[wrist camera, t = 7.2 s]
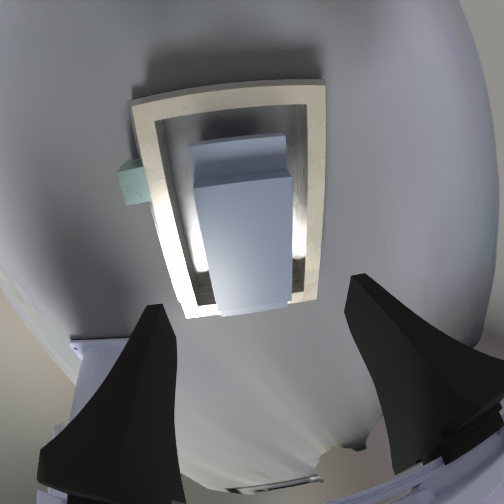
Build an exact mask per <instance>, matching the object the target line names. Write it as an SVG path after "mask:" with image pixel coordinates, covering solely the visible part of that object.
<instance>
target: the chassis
mask: <svg viewBox="0 0 504 504" xmlns="http://www.w3.org/2000/svg"><path fill="white" fill-rule="evenodd" d="M128 106H129V112H130V118H131V123H132V128H133V134H134V139H135V143H136V148H137V153H138V159H133V160H128V161H126V162H125V163H124V164H123V165H122V166H121V168H120V169H119V170H118V171H117V176H118V180H119V184H120V188H121V191H122V195H123V198H124V202H125V205H126V206H128V205H133V204H138V203H144V202H149V204H150V208H151V211H152V215H153V219H154V223H155V226H156V230H157V233H158V237H159V240H160V244H161V247H162V251H163V254H164V257H165V261H166V264H167V267H168V270H169V273H170V277H171V280H172V283H173V286H174V289H175V292H176V295H177V298H178V301H179V302H181V303H182V306H183V309H184V312H185V314H186V317H187V318H190V317H199V316H207V315H215V314H220V311H218V310H217V306H216V301H215V297H214V293H213V288H212V284H211V279H210V274H209V270H208V265H207V260H206V255H205V251H204V246H203V241H202V236H201V231H200V226H199V220H198V215H197V210H196V204H195V199H194V194H193V183H194V178H193V172H192V166H191V160H190V154H189V148H188V147H189V143H193V142H199V141H206V140H213V139H221V138H229V137H237V136H246V135H257V134H268V133H283V134H284V135H285V136H286V161H287V170H288V171H289V173H290V174H291V176H292V192H293V258H292V301H288V304H290V303H296V302H302V301H308V300H314V299H316V297H317V287H318V277H319V266H320V254H321V241H322V226H323V209H324V187H325V152H326V98H325V80H324V79H273V80H255V81H242V82H231V83H222V84H213V85H206V86H199V87H192V88H186V89H180V90H175V91H169V92H164V93H159V94H155V95H150V96H146V97H141V98H137V99H133V100H130V101H128Z"/></svg>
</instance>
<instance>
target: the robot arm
mask: <svg viewBox="0 0 504 504" xmlns="http://www.w3.org/2000/svg"><path fill="white" fill-rule="evenodd" d="M344 313H345V316H346V320H347V323H348V326H349V329H350V332H351V334H352V336H353V339H354V341H355V343H356V345H357V347H358V349H359V351H360V354H361V356H362V358H363V360H364V362H365V364H366V366H367V369H368V371H369V373H370V375H371V377H372V380H373V382H374V385H375V388H376V391H377V394H378V398H379V401H380V404H381V408H382V412H383V416H384V419H385V424H386V429H387V433H388V438H389V444H390V450H391V458H392V467H393V470H394V473H395V475H397V474H399V473H402V472H404V471H406V470H408V469H411V468H413V467H415V466H417V465H419V464H421V463H423V466H422V467H420V468H418V469H416V470H414V471H411V472H409V473H407V474H405V475H403V476H401V477H398V478H396V479H394V480H391V481H389V482H386V483H384V484H381V485H379V486H376V487H373V488H371V489H368V490H365V491H362V492H360V493H357V494H353V495H350V496H347V497H344V498H341V499H337V500H333V501H330V502H326V503H322V504H374V503H377V502H380V501H382V500H385V499H387V498H390V497H392V496H394V495H396V494H399V493H401V492H403V491H405V490H408V489H410V488H412V487H413V488H412V489H411V492H410V494H408V495H404V496H402V497H399V498H397V499H394V500H392V501H389V502H387V503H385V504H482V503H483V502H484V501H485V500H486V499H487V498H488V497H489V496H490V495H491V494H492V493H493V492H494V491H495V490H496V489H497V488H498V487H499V486H500V485H501V484H502V483H503V482H504V414H503V415H500V413H499V411H500V410H501V409H502V406H501V404H500V401H501V400H502V399H503V398H504V360H501V359H497V358H495V357H491V356H489V355H487V354H484V353H482V352H479V351H477V350H475V349H473V348H471V347H468V346H466V345H465V344H463V343H461V342H459V341H457V340H455V339H453V338H451V337H450V336H448V335H446V334H445V333H443V332H442V331H440V330H438V329H437V328H435V327H434V326H432V325H431V324H429V323H428V322H426V321H425V320H423V319H422V318H421V317H419V316H418V315H417V314H415V313H414V312H413V311H411V310H410V309H409V308H407V307H406V306H405V305H404V304H402V303H401V302H400V301H399V300H397V299H396V298H395V297H394V296H392V295H391V294H390V293H389V292H388V291H386V290H385V289H384V288H383V287H381V286H380V285H379V284H378V283H377V282H375V281H374V280H373V279H372V278H370V277H369V276H368V275H367V274H365V273H364V274H358V275H353V276H351V279H350V285H349V290H348V295H347V300H346V305H345V310H344ZM69 345H70V346H71V348H72V349H73V350H74V352H75V353H76V354H77V355H78V357H79V358H80V359H81V360H82V364H81V368H80V372H79V376H78V380H77V384H76V389H75V394H74V398H73V404H72V409H71V414H70V420H69V423H68V424H67V425H66V424H63V423H61V424H60V425H57V426H55V428H54V432H53V436H52V440H51V441H50V442H49V443H48V444H47V445H45V446H44V447H43V448H42V449H41V450H40V457H39V463H38V472H37V480H38V482H39V483H41V484H43V485H45V486H47V487H48V493H49V494H48V493H45V492H42V491H39V490H38V491H37V504H186V500H185V495H184V491H183V486H182V481H181V475H180V469H179V463H178V455H177V447H176V437H175V424H174V405H175V388H176V373H177V342H176V336H175V334H174V331H173V329H172V326H171V324H170V322H169V319H168V317H167V314H166V312H165V309H164V307H163V304H155V305H147V306H146V308H145V310H144V311H143V313H142V315H141V317H140V319H139V321H138V323H137V325H136V327H135V328H134V330H133V332H132V334H131V336H130V338H118V339H98V340H71V341H70V343H69Z"/></svg>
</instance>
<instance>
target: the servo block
mask: <svg viewBox="0 0 504 504" xmlns="http://www.w3.org/2000/svg"><path fill="white" fill-rule="evenodd" d="M188 148H189V154H190V160H191V166H192V172H193V178H194V183H193V194H194V199H195V204H196V210H197V215H198V220H199V226H200V231H201V236H202V241H203V246H204V251H205V255H206V260H207V265H208V270H209V274H210V279H211V284H212V288H213V293H214V297H215V301H216V306H217V310H218V311H220V315H221V317H224V316H231V315H239V314H246V313H253V312H260V311H266V310H273V309H279V308H285V307H288V301H292V258H293V192H292V176H291V174H290V173H289V171H288V170H287V161H286V136H285V135H284V134H283V133H268V134H257V135H246V136H237V137H229V138H221V139H213V140H206V141H199V142H193V143H189V147H188Z"/></svg>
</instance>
